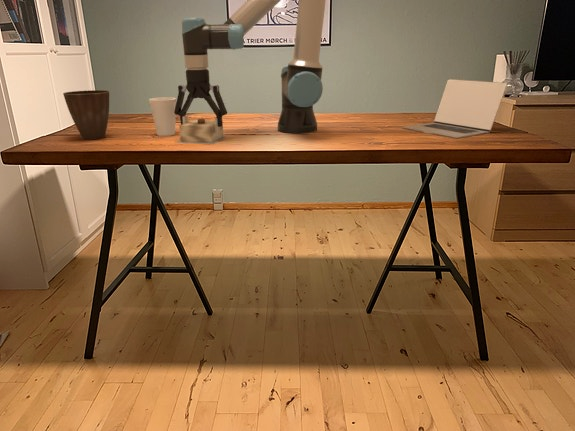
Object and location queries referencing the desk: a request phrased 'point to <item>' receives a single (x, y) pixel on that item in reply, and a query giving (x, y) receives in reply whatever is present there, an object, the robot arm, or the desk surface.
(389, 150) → the desk surface
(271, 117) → the desk surface
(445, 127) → the laptop
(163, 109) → the foam cup
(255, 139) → the desk surface
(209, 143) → the mat
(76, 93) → the plant pot
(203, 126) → the lid
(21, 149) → the desk surface
